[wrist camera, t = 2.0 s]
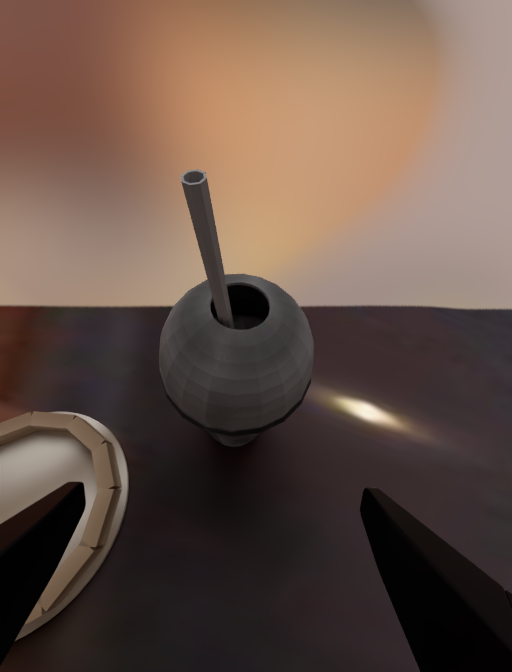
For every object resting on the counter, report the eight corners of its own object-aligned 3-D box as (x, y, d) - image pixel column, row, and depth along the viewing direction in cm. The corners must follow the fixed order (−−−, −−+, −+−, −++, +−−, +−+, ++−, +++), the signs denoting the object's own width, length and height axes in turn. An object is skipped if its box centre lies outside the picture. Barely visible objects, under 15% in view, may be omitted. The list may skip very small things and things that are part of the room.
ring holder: (167, 479, 19) (161, 477, 18) (-18, 722, 13) (-55, 755, 11) (55, 383, 22) (41, 374, 21) (-137, 543, 16) (-180, 548, 14)
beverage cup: (294, 431, 22) (503, 207, 5) (219, 487, 19) (141, 412, 2) (246, 365, 25) (279, 84, 8) (176, 406, 22) (4, 118, 5)
